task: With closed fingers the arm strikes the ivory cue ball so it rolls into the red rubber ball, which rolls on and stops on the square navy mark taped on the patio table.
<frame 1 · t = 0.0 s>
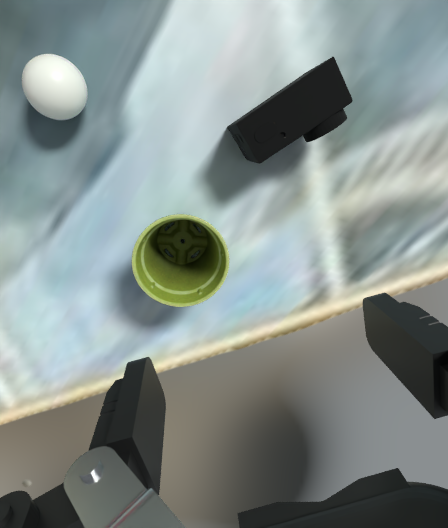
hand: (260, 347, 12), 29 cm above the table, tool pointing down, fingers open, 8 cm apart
digital camera: (277, 122, 38), on the table
cue ball: (55, 88, 32), on the table
plant pot: (182, 238, 41), on the table
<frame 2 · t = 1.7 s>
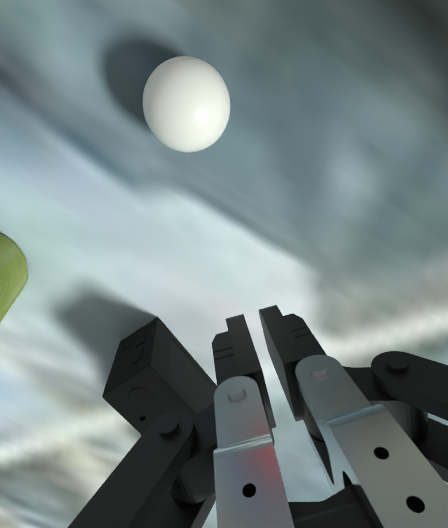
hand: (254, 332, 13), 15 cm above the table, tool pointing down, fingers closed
digital camera: (167, 369, 32), on the table
cue ball: (187, 106, 21), on the table
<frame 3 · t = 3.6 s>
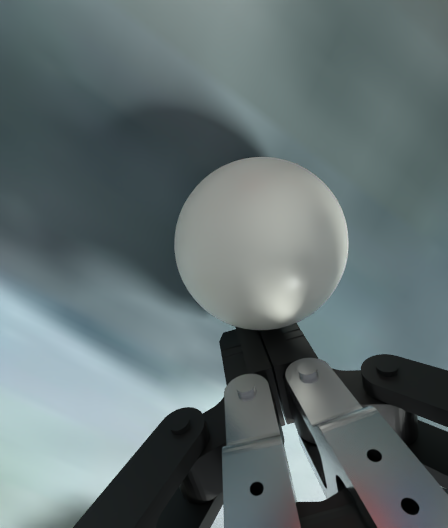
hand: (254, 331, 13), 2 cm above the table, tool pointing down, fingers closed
cue ball: (259, 244, 11), on the table, touching gripper
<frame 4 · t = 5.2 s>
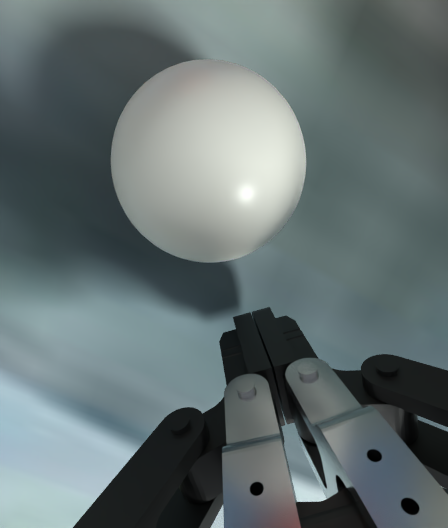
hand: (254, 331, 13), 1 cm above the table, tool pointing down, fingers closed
cue ball: (209, 168, 10), on the table
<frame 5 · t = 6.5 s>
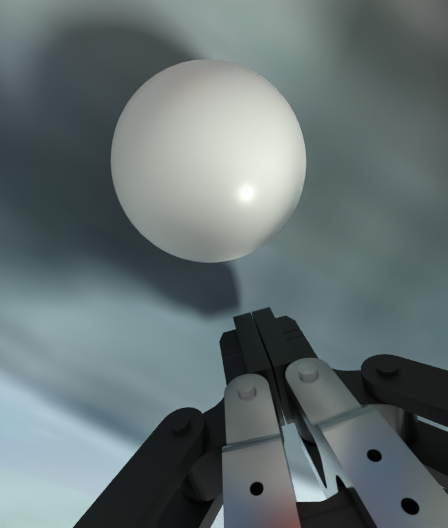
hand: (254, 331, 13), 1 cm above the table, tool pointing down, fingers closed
cue ball: (209, 168, 10), on the table
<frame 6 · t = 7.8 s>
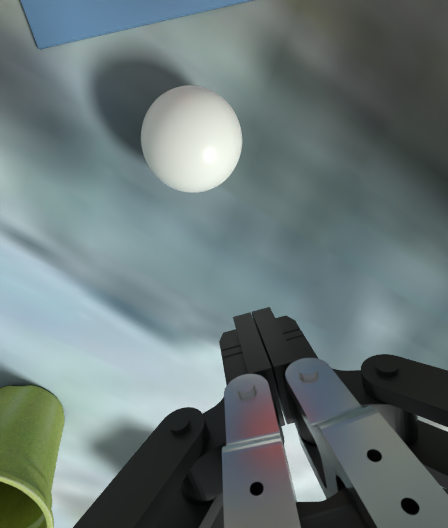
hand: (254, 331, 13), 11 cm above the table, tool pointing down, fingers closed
cue ball: (192, 141, 19), on the table
plant pot: (26, 411, 27), on the table
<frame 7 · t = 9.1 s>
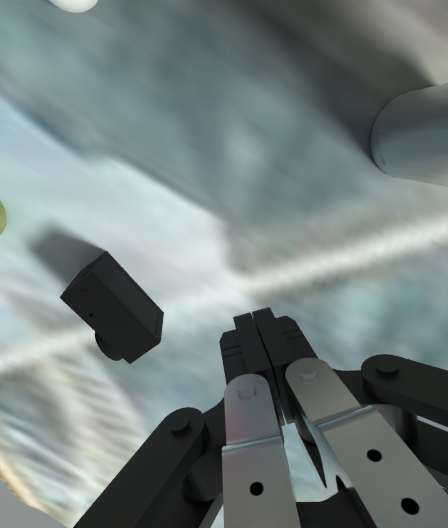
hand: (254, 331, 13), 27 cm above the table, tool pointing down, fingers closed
digital camera: (119, 294, 41), on the table
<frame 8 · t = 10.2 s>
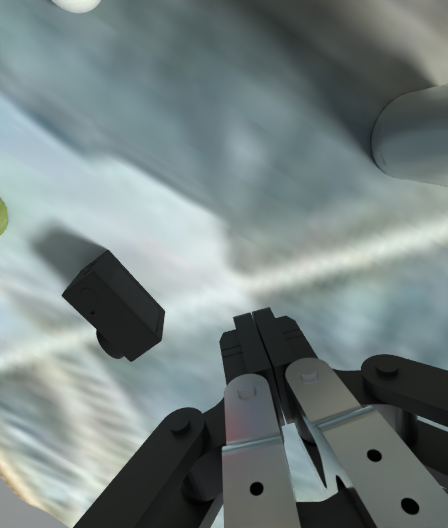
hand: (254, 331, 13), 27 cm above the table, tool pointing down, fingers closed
digital camera: (120, 293, 41), on the table
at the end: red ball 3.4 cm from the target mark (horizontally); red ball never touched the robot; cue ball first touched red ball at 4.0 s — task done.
